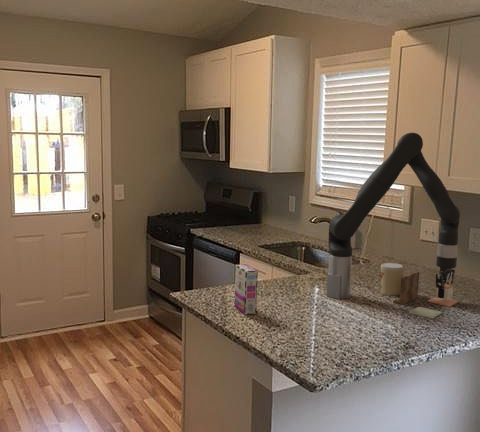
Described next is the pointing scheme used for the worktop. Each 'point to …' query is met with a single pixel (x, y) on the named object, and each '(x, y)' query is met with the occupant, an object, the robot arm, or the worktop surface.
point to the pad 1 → (426, 312)
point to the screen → (408, 288)
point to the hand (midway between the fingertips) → (443, 296)
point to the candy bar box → (246, 289)
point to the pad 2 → (443, 301)
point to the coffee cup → (391, 278)
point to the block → (446, 292)
